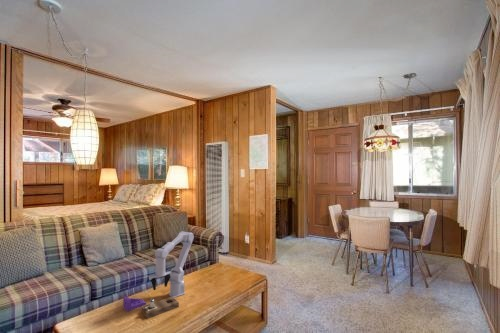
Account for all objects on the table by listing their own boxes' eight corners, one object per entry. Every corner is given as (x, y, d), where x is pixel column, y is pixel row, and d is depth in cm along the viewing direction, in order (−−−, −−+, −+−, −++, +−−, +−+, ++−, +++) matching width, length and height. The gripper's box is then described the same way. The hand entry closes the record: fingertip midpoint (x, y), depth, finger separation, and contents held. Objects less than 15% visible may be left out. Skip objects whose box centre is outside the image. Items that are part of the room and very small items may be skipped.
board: (171, 301, 175) (171, 296, 175) (178, 307, 168) (178, 302, 168) (141, 311, 162) (141, 306, 162) (147, 318, 155) (147, 313, 155)
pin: (154, 310, 163) (154, 298, 163) (154, 313, 160) (154, 300, 160) (149, 311, 162) (149, 298, 162) (149, 314, 159) (149, 301, 159)
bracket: (127, 312, 162) (127, 301, 162) (123, 308, 167) (123, 297, 167) (146, 305, 170) (146, 294, 171) (141, 301, 175) (141, 291, 175)
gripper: (168, 263, 180) (167, 283, 180) (147, 267, 170) (146, 288, 170) (173, 266, 175) (172, 286, 174) (151, 271, 165) (150, 292, 165)
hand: (160, 288), depth 172 cm, fingers open, 7 cm apart
